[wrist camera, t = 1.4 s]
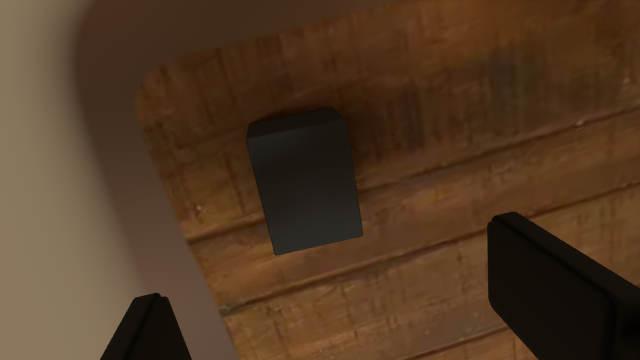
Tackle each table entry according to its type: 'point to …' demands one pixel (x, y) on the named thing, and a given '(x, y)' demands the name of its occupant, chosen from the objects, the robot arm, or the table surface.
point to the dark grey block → (305, 179)
